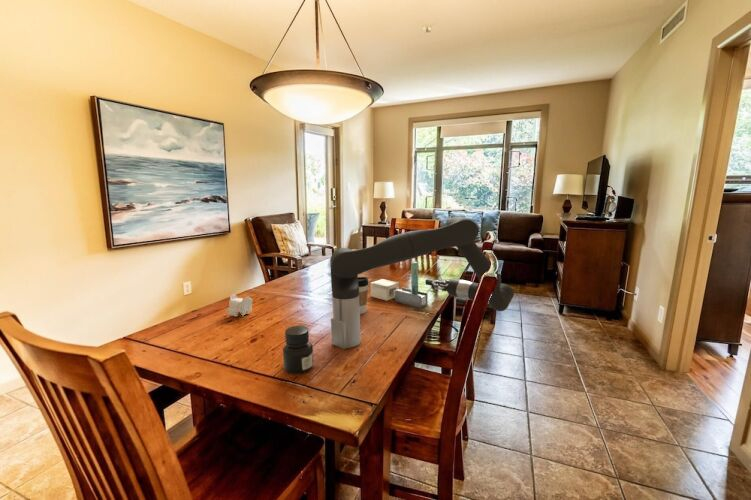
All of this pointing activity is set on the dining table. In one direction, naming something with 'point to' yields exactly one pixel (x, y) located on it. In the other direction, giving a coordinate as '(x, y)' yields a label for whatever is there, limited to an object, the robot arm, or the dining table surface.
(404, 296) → the sleeve
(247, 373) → the dining table surface
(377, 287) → the socket
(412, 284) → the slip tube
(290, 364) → the ink bottle
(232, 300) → the elephant figurine
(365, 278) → the coffee cup
